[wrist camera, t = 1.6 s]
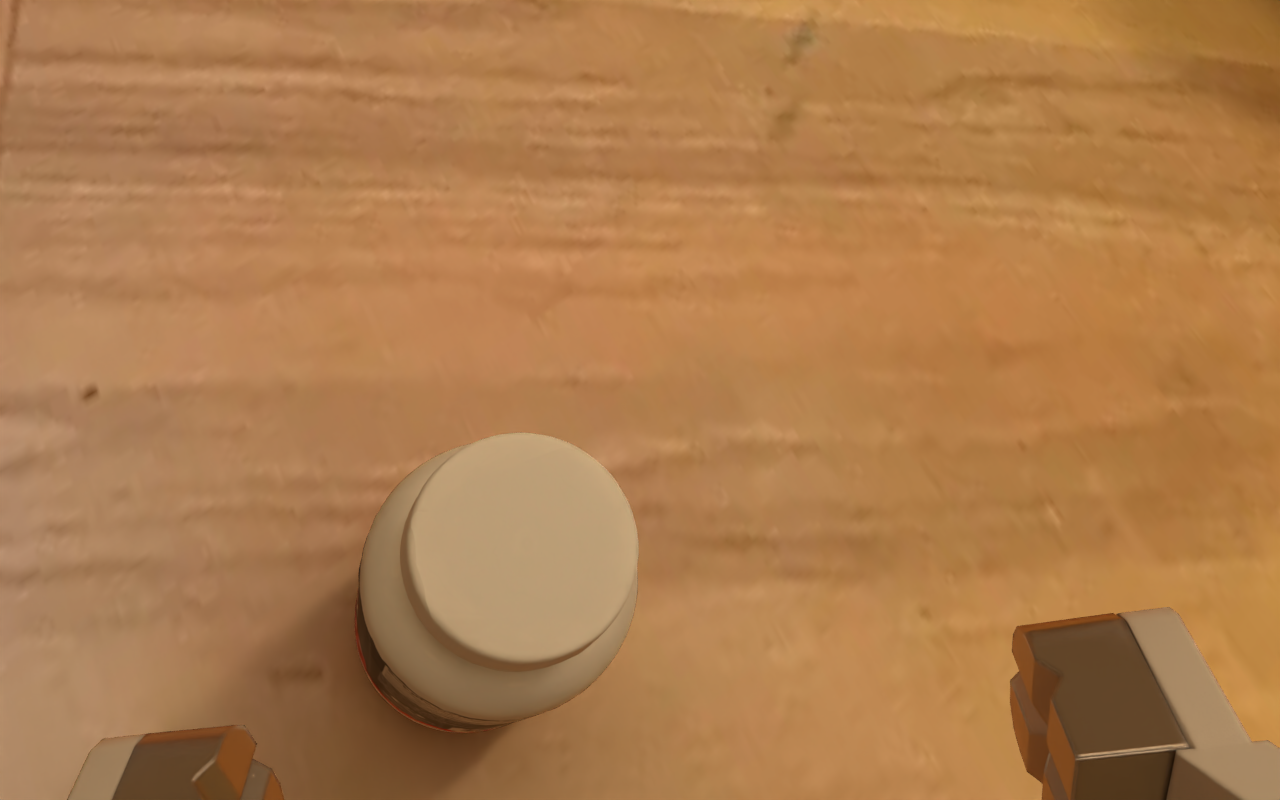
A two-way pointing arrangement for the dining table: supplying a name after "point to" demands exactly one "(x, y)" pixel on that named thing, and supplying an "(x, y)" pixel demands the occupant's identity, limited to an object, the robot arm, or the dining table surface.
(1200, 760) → the robot arm
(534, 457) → the pill bottle
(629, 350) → the dining table surface
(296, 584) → the dining table surface
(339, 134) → the dining table surface
